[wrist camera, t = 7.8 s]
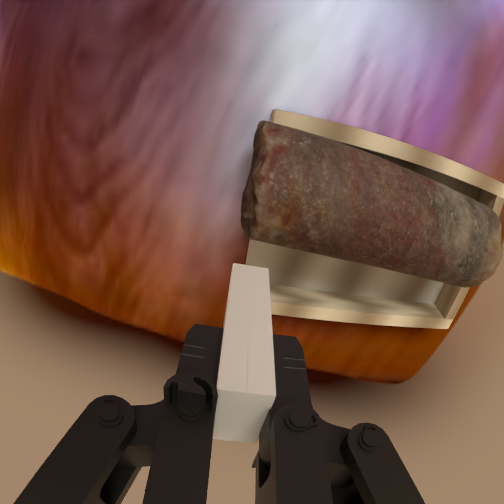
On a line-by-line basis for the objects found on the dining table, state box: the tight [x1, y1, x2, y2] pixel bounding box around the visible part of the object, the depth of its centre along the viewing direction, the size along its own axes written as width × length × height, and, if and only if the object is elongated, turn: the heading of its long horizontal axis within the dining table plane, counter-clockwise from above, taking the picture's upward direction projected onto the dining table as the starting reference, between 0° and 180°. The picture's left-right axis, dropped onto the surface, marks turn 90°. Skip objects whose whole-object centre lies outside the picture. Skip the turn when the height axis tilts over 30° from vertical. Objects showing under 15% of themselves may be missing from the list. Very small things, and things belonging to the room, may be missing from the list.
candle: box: [241, 121, 503, 288], centre depth 19 cm, size 8×7×20 cm
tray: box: [245, 109, 504, 329], centre depth 23 cm, size 21×15×3 cm
